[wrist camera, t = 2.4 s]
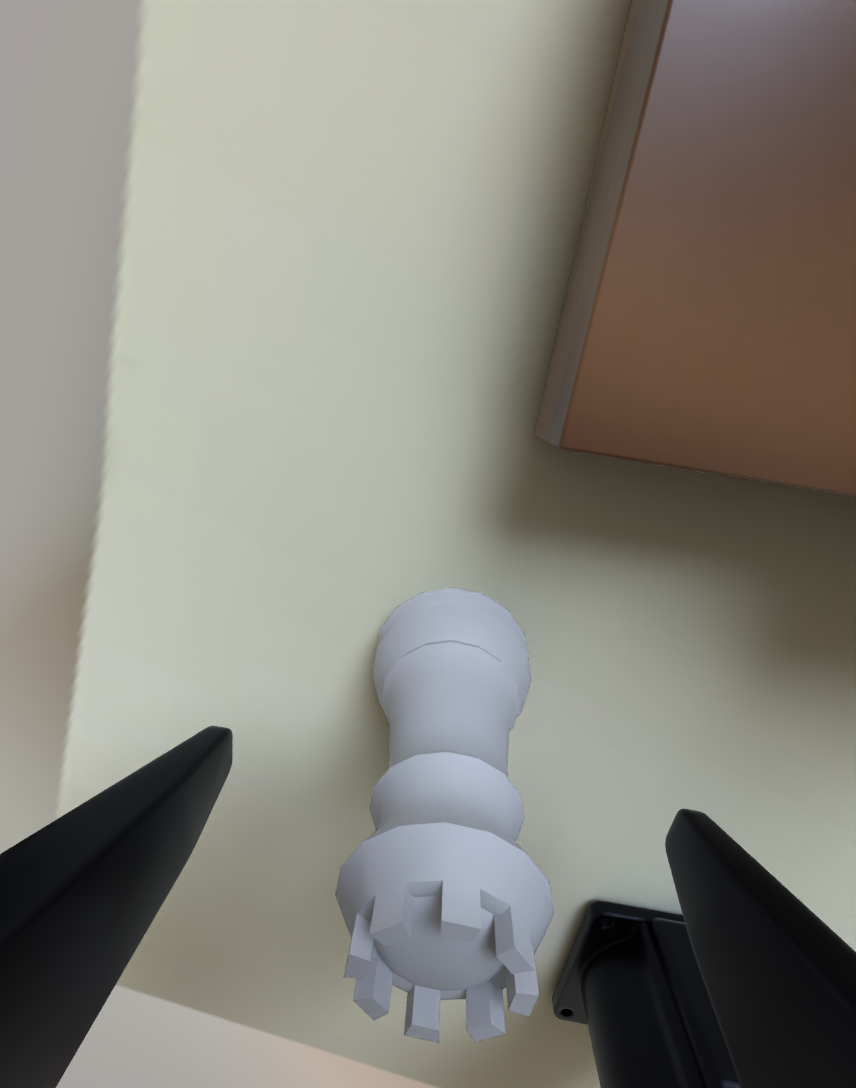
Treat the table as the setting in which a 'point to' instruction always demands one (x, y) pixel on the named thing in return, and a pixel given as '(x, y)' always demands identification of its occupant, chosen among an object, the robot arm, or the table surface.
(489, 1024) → the rook chess piece
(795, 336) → the brown wooden stepped block
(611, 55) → the table surface
